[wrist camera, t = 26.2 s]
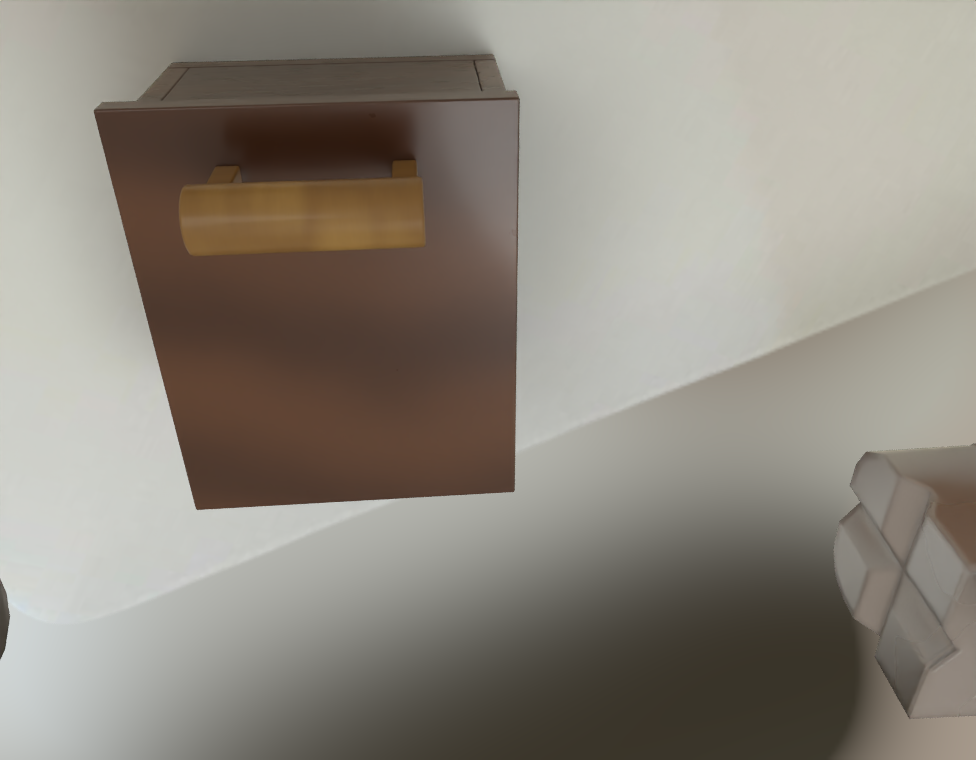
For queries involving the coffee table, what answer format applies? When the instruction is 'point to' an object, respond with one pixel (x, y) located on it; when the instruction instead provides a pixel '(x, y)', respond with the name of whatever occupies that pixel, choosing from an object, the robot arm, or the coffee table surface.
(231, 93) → the chest
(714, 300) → the coffee table surface
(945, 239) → the coffee table surface
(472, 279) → the lid
